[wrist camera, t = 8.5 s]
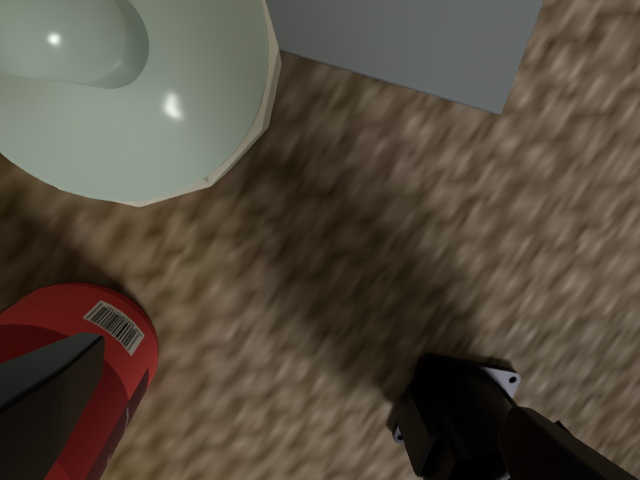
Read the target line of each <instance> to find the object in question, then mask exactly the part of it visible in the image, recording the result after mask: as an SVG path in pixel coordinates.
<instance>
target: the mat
mask: <svg viewBox="0 0 640 480" xmlns="http://www.w3.org/2000/svg"><path fill="white" fill-rule="evenodd" d="M543 1H544V0H266V4H267V8H268V11H269V15H270V18H271V22H272V25H273V29H274V33H275V36H276V40H277V43H278V47H279V51H283V52H286V53H289V54H293V55H296V56H300V57H303V58H306V59H310V60H313V61H317V62H320V63H323V64H327V65H330V66H334V67H337V68H341V69H344V70H347V71H351V72H354V73H358V74H361V75H364V76H368V77H371V78H375V79H378V80H382V81H385V82H388V83H392V84H395V85H399V86H402V87H405V88H409V89H412V90H416V91H419V92H422V93H426V94H429V95H433V96H436V97H440V98H443V99H446V100H450V101H453V102H457V103H460V104H463V105H467V106H470V107H474V108H477V109H480V110H484V111H487V112H491V113H494V114H501V113H502V110H503V108H504V105H505V102H506V100H507V97H508V94H509V92H510V89H511V86H512V84H513V81H514V78H515V76H516V73H517V70H518V68H519V65H520V62H521V60H522V57H523V54H524V52H525V49H526V46H527V44H528V41H529V38H530V36H531V33H532V30H533V28H534V25H535V22H536V20H537V17H538V14H539V12H540V9H541V6H542V4H543Z"/></svg>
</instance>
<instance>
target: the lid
mask: <svg viewBox="0 0 640 480" xmlns="http://www.w3.org/2000/svg"><path fill="white" fill-rule="evenodd" d="M268 68H269V41H268V32H267V23H266V19H265V14H264V10H263V6H262V1H261V0H0V153H1V154H3V155H4V156H5V157H6V158H7V159H9V160H10V161H11V162H13V163H14V164H15V165H17V166H18V167H20V168H21V169H23V170H24V171H26V172H27V173H29V174H31V175H32V176H34V177H36V178H38V179H40V180H42V181H44V182H46V183H48V184H50V185H52V186H55V187H57V188H60V189H62V190H65V191H67V192H70V193H74V194H77V195H81V196H85V197H88V198H94V199H100V200H107V201H129V202H130V201H140V200H150V199H154V198H158V197H163V196H167V195H170V194H173V193H175V192H178V191H180V190H183V189H186V188H187V187H189V186H191V185H193V184H195V183H197V182H198V181H200V180H202V179H203V178H205V177H206V176H208V175H209V174H210V173H212V172H213V171H214V170H216V169H217V168H218V167H220V166H221V165H222V164H223V163H224V162H225V161H226V160H227V159H228V158H229V157H230V156H231V155H232V154H233V153H234V152H235V151H236V150H237V148H238V147H239V146H240V144H241V143H242V142H243V141H244V139H245V138H246V136H247V134H248V132H249V131H250V129H251V127H252V125H253V124H254V122H255V119H256V117H257V114H258V112H259V109H260V107H261V104H262V100H263V96H264V92H265V88H266V83H267V75H268Z"/></svg>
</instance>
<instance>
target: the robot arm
mask: <svg viewBox="0 0 640 480" xmlns="http://www.w3.org/2000/svg"><path fill="white" fill-rule="evenodd" d="M104 352H105V337H104V336H103V335H99V334H94V333H88V332H81V333H78V334H75V335H73V336H70V337H68V338H65V339H63V340H60V341H57V342H55V343H52V344H50V345H47V346H45V347H42V348H40V349H37V350H35V351H32V352H29V353H27V354H24V355H22V356H19V357H17V358H14V359H12V360H9V361H7V362H4V363H1V364H0V480H44V478H45V477H46V476H47V474H48V473H49V471H50V470H51V468H52V466H53V465H54V463H55V462H56V460H57V459H58V457H59V455H60V453H61V452H62V450H63V448H64V446H65V444H66V443H67V441H68V439H69V437H70V435H71V433H72V431H73V430H74V428H75V426H76V424H77V422H78V420H79V418H80V416H81V415H82V413H83V411H84V409H85V407H86V405H87V403H88V401H89V400H90V398H91V396H92V394H93V392H94V390H95V388H96V386H97V385H98V383H99V380H100V378H101V375H102V370H103V361H104ZM429 361H432V362H431V363H430V364H426V363H427V362H429ZM512 376H513V377H512ZM510 377H512V378H511V379H510ZM520 379H521V377H520V375H519V374H518V373H517V372H516V371H515V370H514V369H510V368H504V367H499V366H494V365H488V364H483V363H478V362H472V361H467V360H462V359H456V358H451V357H446V356H440V355H435V354H425V355H423V356H422V357H421V358H420V361H419V363H418V366H417V368H416V371H415V374H414V376H413V379H412V381H411V384H409V385H408V386H407V388H406V391H405V394H404V396H403V399H402V401H401V404H400V407H399V409H398V412H397V415H396V423H395V426H394V428H393V431H392V435H393V438H394V441H395V442H396V443H400V444H405V447H406V450H407V453H408V456H409V459H410V462H411V465H412V467H413V470H414V472H415V474H416V475H417V477H423V479H424V480H639V479H637V478H636V477H634V476H633V475H631V474H630V473H628V472H627V471H625V470H624V469H622V468H621V467H619V466H618V465H616V464H615V463H613V462H612V461H610V460H609V459H607V458H606V457H604V456H603V455H601V454H600V453H598V452H597V451H595V450H594V449H592V448H590V447H589V446H587V445H586V444H584V443H583V442H581V441H580V440H578V439H577V438H575V437H574V436H573V435H572V434H571V433H570V432H569V431H568V430H567V429H566V428H565V427H564V426H563V425H562V424H561V422H560V421H559V420H558V421H556V422H555V423H553V422H551V421H550V420H548V419H547V418H545V417H544V416H542V415H541V414H539V413H538V412H536V411H535V410H533V409H531V408H526V407H520V406H518V405H517V404H516V403H515V402H514V400H513V399H512V397H513V395H514V393H515V391H516V389H517V387H518V384H519V382H520ZM400 434H401V435H400Z"/></svg>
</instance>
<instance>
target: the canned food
mask: <svg viewBox="0 0 640 480" xmlns="http://www.w3.org/2000/svg"><path fill="white" fill-rule="evenodd" d="M81 332H88V333H94V334H99V335H103V336H104V337H105V352H104V361H103V370H102V375H101V378H100V380H99V383H98V385H97V386H96V388H95V390H94V392H93V394H92V396H91V398H90V400H89V401H88V403H87V405H86V407H85V409H84V411H83V413H82V415H81V416H80V418H79V420H78V422H77V424H76V426H75V428H74V430H73V431H72V433H71V435H70V437H69V439H68V441H67V443H66V444H65V446H64V448H63V450H62V452H61V453H60V455H59V457H58V459H57V460H56V462H55V463H54V465H53V466H52V468H51V470H50V471H49V473H48V474H47V476H46V477H45V478H44V480H100V478H101V476H102V474H103V472H104V470H105V468H106V466H107V464H108V462H109V461H110V459H111V457H112V455H113V453H114V451H115V449H116V447H117V445H118V443H119V441H120V439H121V438H122V436H123V434H124V432H125V430H126V428H127V426H128V424H129V422H130V420H131V418H132V417H133V415H134V413H135V411H136V409H137V407H138V405H139V403H140V401H141V399H142V397H143V396H144V394H145V392H146V390H147V388H148V386H149V384H150V382H151V380H152V378H153V376H154V375H155V372H156V368H157V364H158V339H157V335H156V331H155V329H154V327H153V325H152V323H151V321H150V319H149V318H148V317H147V315H146V314H145V313H144V311H143V310H142V309H141V308H140V307H139V306H137V305H136V304H135V303H134V302H133V301H132V300H130V299H129V298H127V297H126V296H124V295H122V294H121V293H119V292H117V291H114V290H112V289H110V288H107V287H104V286H100V285H96V284H92V283H82V282H71V283H61V284H57V285H52V286H48V287H44V288H40V289H37V290H35V291H33V292H31V293H29V294H27V295H25V296H23V297H22V298H20V299H19V300H17V301H16V302H14V303H13V304H11V305H10V306H8V307H6V308H5V309H3V310H2V311H0V364H1V363H4V362H7V361H9V360H12V359H14V358H17V357H19V356H22V355H24V354H27V353H29V352H32V351H35V350H37V349H40V348H42V347H45V346H47V345H50V344H52V343H55V342H57V341H60V340H63V339H65V338H68V337H70V336H73V335H75V334H78V333H81Z"/></svg>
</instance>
